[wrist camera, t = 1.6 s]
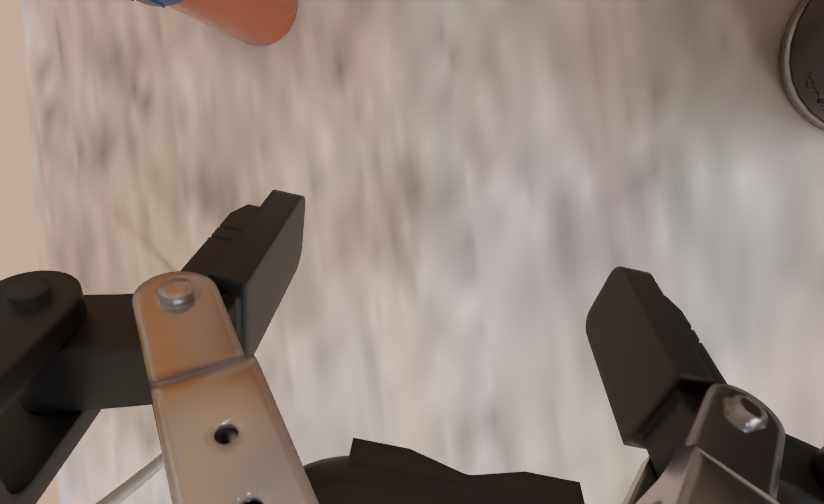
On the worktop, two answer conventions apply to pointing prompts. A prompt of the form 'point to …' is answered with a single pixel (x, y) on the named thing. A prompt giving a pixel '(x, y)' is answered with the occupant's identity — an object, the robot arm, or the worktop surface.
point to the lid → (159, 2)
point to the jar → (244, 17)
